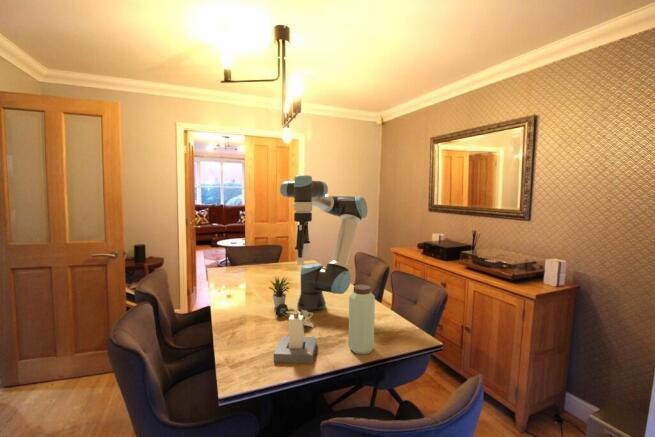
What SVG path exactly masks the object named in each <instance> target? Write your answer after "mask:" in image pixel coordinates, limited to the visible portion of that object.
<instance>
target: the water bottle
mask: <svg viewBox="0 0 655 437" xmlns="http://www.w3.org/2000/svg"><path fill="white" fill-rule="evenodd" d="M371 289H372V287H371V286H369V285H366V284H355V285H354V286H353V291H352V293H351V294H350V295H349V296H348V299H349V300H348V301H349V302H348V304H349V305H348V347H349V349H350V350H351V351H352V352H353V353H354V354H359V355H366V354H370V353H371V352H372V351H373V349H374V347H375V344H374V342H375V312H376V310H375V309H376V308H375V306H376V304H375V303H376V300H375V299H376V297H375V295H374V294H373V293H372V290H371Z"/></svg>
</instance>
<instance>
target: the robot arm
mask: <svg viewBox="0 0 655 437" xmlns="http://www.w3.org/2000/svg"><path fill="white" fill-rule="evenodd" d="M328 187H329V186H328V184H327V183H326V182H325V181H321V180H313V176H311V175H307V174H304V175H302V174H301V175H295V176H294V179H293V180H288V181H286V180H285V181H283V182H282V183H281V185H280V188H279V192H280V194H281V196H282V197H284V198H293V203H292V207H294V209H293V210H294V213H293V219H294V222H296V223H297V222H298V224H297V232H296V233H297V234H296V245H295V246H294V249H295V251H296V265H297V266H301V268H300V273H299V276H300V294H299V298H298V301H297V303H296V304H297V308H296V309H297V310H299V311H300V312H301V310H305V311H307V312H310V313H313V314H314V313H319V312H323V311H324V310H326V307H327V305H326V304H327V303H326V301H325V297H324V295H323V294H324V293H325V292H326V293H332V294H333V295H335V294H336V295H343V294H345V293H346V292H347V291H348V290H349V287H350V286H351V282H352V275H351V273H350V272H349V270H350V269H349V267H348V262H349V260H350V259H349V258H350V256H351V252H352V246H353V243H354V239H355V235H356V231H357V227H358V225H359V224H361V222H362V219H365V218H366V217H368V216H367V215H368V204H367V201H366V199H365V197H363V196H357V195H356V196H349V195H348V196H344V195H343V196H342V195H339V196H337V195H334V196H333V195H330V194H328V192H329V188H328ZM313 207H317V208H319V209H320V211H322V212H324V213H326V214H329V215H333V216H334V217H339V218H340V219H341V222H340V226H339V230H338V233H337V237H336V242H335V245H334V249H333V251H332V252H333V253H332V257H331V260H330V262H327V264H326V266H325V267H324V266H323V263H311V264H310V263H308V264H305V259H309V244H311V241H310V237H309V236H310V235H309V223H310V222H312V221H313V213H312V211H313ZM323 292H324V293H323Z"/></svg>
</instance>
